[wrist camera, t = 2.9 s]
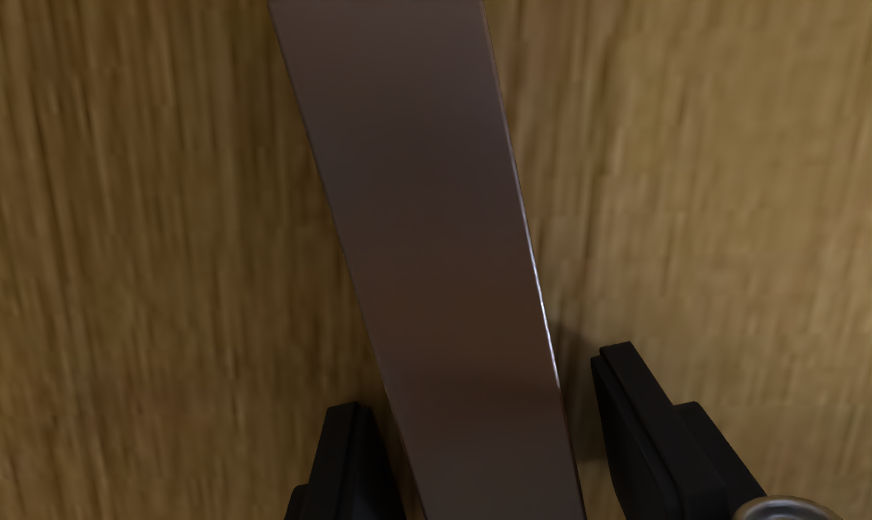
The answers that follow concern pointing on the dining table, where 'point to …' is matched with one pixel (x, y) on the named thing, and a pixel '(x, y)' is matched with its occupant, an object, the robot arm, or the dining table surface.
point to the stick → (436, 247)
